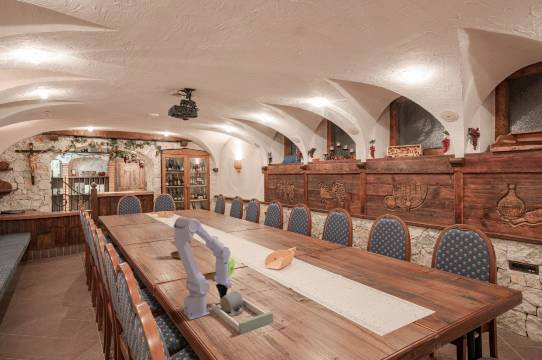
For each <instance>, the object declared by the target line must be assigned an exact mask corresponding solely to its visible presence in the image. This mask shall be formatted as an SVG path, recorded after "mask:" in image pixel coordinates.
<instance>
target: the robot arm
mask: <svg viewBox="0 0 542 360" xmlns="http://www.w3.org/2000/svg"><path fill="white" fill-rule="evenodd" d="M172 226H173V227H172V228H173V229H174V234H173V235H174V239H173V243H174V245H175V248H176V251H178V253H179V256H180V258H179V259H180V260H181V263H182V266H183V268H184V271H185V273H186V278H185V283H186V285H185V288H186V290H187V291H188V295H187V296H185V297H184V298H183V314H184V315H185V316H186V318H187V319H188V320H189V321H190V320H195V319H198V318H201V317H204V316H207V315H208V316H209V315H210V314H211V312H210V311H208V309H207V307H208V306H207V305H208V304H207V295H208V292H209V291H210V283H209V281H208V280H207V279H206V277H205V276H204V275H203V274H202V272H201V271H200V269H199V267H198V263H197V260H196V259H195V255H194V253H193V250H192V248H191V244H190V245H189V240H190V239H192V238H193V237H194V236H195V234H196V235H197V236H198V237H199V238H201V240H203V241H204V242H205V246H206V247H207V248H208V249H209V250H210V251H211V252H212V254H213V256H214V257H215V273H216V276H215V275H214V276H213V281H215V283H216V284H215V287H216V288H217V291H218V295H219V299H220V300H221V298H222V297H223V296H225V295H227V293H228V290H230V289H232V283H231V278H230V277H229V278H228V261H229V258H230V256H231V250H230V249H229V247H227V246H225V245H224V243H223V242H221V241H220V240H219V237H218V236H213V235H211V234H210V233H209V232H208V231H207V229H205V228H204V227H203V225H202V223H201V222H200V221H198V219H197V218H191V217H190V218H189V217H184V216H180V217H178V218H176V220H175V221H174V224H173V225H172Z"/></svg>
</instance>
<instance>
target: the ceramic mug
mask: <svg viewBox="0 0 542 360" xmlns="http://www.w3.org/2000/svg"><path fill="white" fill-rule="evenodd" d="M242 297H243V296H242V295H241V293H240V292H239V291H238V290H234V291H232V292H230V293H228V294H226V295H225V296H223V297H222V298H221V299H220V301H219V304H220V307H221V308H220V309H221V310H223V311H224V312H225V313H230V312H231V313H232V314H233V315H236V316H237V315H242V313H244V305H243V299H242ZM240 308H241V310H240V311H235V310H237V309H240Z"/></svg>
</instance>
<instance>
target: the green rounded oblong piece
mask: <svg viewBox="0 0 542 360" xmlns="http://www.w3.org/2000/svg"><path fill="white" fill-rule="evenodd" d="M235 265H236V264H235V258H234V257H229V261H228V278H230V277H231V276H232V275H233V274H234V273H235ZM214 276H216V272H215V275H214Z"/></svg>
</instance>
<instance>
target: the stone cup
mask: <svg viewBox="0 0 542 360" xmlns="http://www.w3.org/2000/svg"><path fill="white" fill-rule="evenodd" d="M191 239H192V238H191ZM191 239H190V240H189V245H190V246H191V243H192V241H191ZM170 256H173V257H174V258H177V259H181V258H180V256H179V253H178V251H177V250H175V251H172V252H170Z"/></svg>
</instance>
